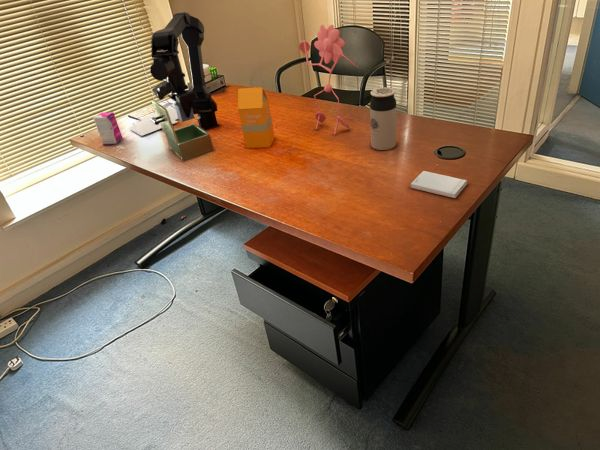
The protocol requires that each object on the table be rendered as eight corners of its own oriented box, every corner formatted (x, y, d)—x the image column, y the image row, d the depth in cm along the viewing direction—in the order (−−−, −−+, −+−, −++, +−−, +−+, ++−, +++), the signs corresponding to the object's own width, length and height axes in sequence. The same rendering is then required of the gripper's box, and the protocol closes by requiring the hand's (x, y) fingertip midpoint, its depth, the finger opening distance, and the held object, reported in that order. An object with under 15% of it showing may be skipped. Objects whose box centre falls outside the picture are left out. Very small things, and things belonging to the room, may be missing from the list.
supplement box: (116, 144, 174) (105, 117, 168) (103, 145, 176) (92, 118, 169) (123, 138, 179) (113, 111, 172) (111, 139, 180) (100, 112, 174)
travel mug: (390, 138, 148) (389, 85, 138) (400, 147, 142) (400, 92, 132) (367, 143, 147) (365, 90, 137) (376, 152, 141) (375, 97, 131)
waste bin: (198, 138, 169) (194, 123, 165) (213, 150, 158) (209, 134, 155) (170, 148, 164) (165, 133, 161) (183, 161, 154) (178, 144, 150)
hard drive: (410, 183, 120) (455, 193, 113) (423, 170, 125) (467, 179, 118) (410, 188, 121) (454, 199, 114) (423, 175, 126) (466, 184, 119)
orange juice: (251, 138, 163) (241, 84, 151) (274, 137, 161) (265, 83, 149) (245, 148, 156) (234, 92, 145) (269, 147, 154) (259, 91, 143)
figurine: (351, 140, 151) (344, 31, 131) (298, 126, 167) (285, 27, 147) (379, 124, 159) (376, 20, 139) (326, 112, 175) (317, 17, 155)
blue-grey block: (178, 118, 158) (173, 103, 155) (190, 115, 160) (186, 100, 157) (182, 122, 155) (178, 106, 152) (194, 118, 157) (190, 102, 153)
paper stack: (120, 124, 193) (119, 123, 192) (171, 106, 205) (170, 105, 205) (141, 137, 177) (141, 135, 177) (195, 116, 189) (195, 115, 189)
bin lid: (153, 99, 154) (141, 104, 152) (167, 109, 143) (154, 114, 142) (165, 131, 161) (154, 135, 159) (179, 143, 150) (167, 147, 149)
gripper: (142, 72, 152) (156, 116, 161) (158, 83, 138) (172, 129, 147) (173, 64, 156) (185, 107, 165) (191, 73, 142) (203, 119, 151)
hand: (185, 115), depth 157 cm, fingers closed on blue-grey block, 4 cm apart
